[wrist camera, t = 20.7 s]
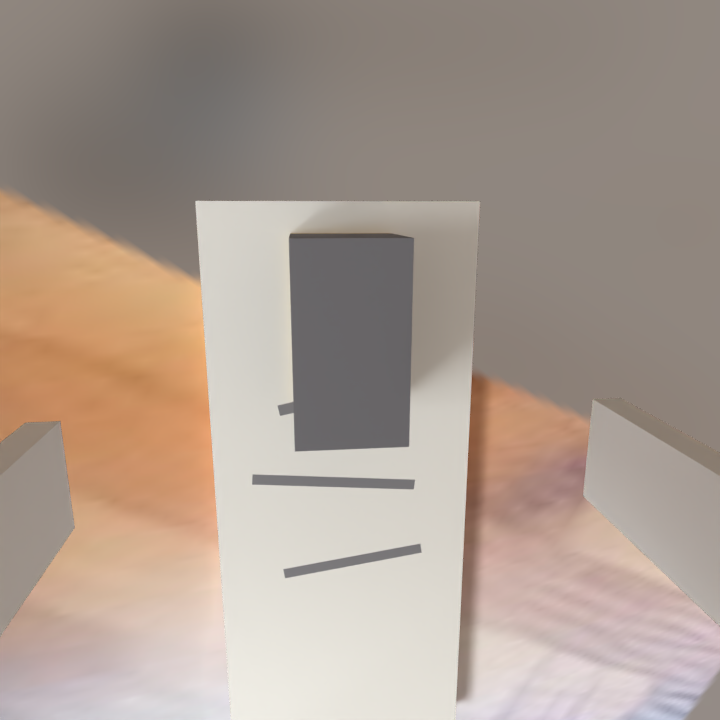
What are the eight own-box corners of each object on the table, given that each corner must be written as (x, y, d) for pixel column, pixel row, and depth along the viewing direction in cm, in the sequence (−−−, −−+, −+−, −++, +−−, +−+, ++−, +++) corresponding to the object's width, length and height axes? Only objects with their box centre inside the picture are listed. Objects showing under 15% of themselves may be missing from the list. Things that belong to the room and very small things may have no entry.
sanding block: (294, 406, 31) (294, 451, 25) (290, 233, 29) (288, 238, 23) (388, 403, 31) (409, 446, 26) (390, 232, 29) (413, 238, 23)
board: (234, 724, 37) (232, 741, 36) (199, 201, 29) (195, 201, 28) (450, 705, 38) (455, 720, 37) (473, 201, 30) (480, 201, 29)
